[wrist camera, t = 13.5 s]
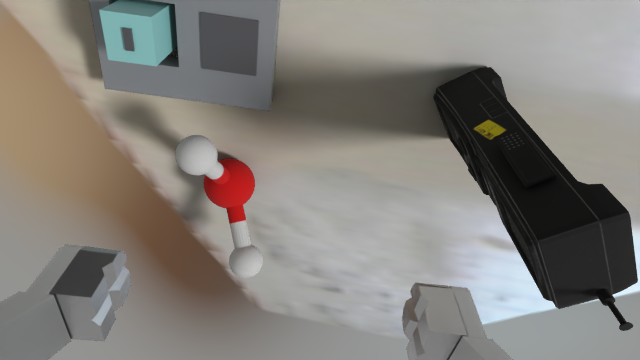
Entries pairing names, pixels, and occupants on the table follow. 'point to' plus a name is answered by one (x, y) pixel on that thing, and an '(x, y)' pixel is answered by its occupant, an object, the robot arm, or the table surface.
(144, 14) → the block
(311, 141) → the table surface
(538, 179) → the portable radio
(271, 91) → the outlet plate
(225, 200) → the molecular model
